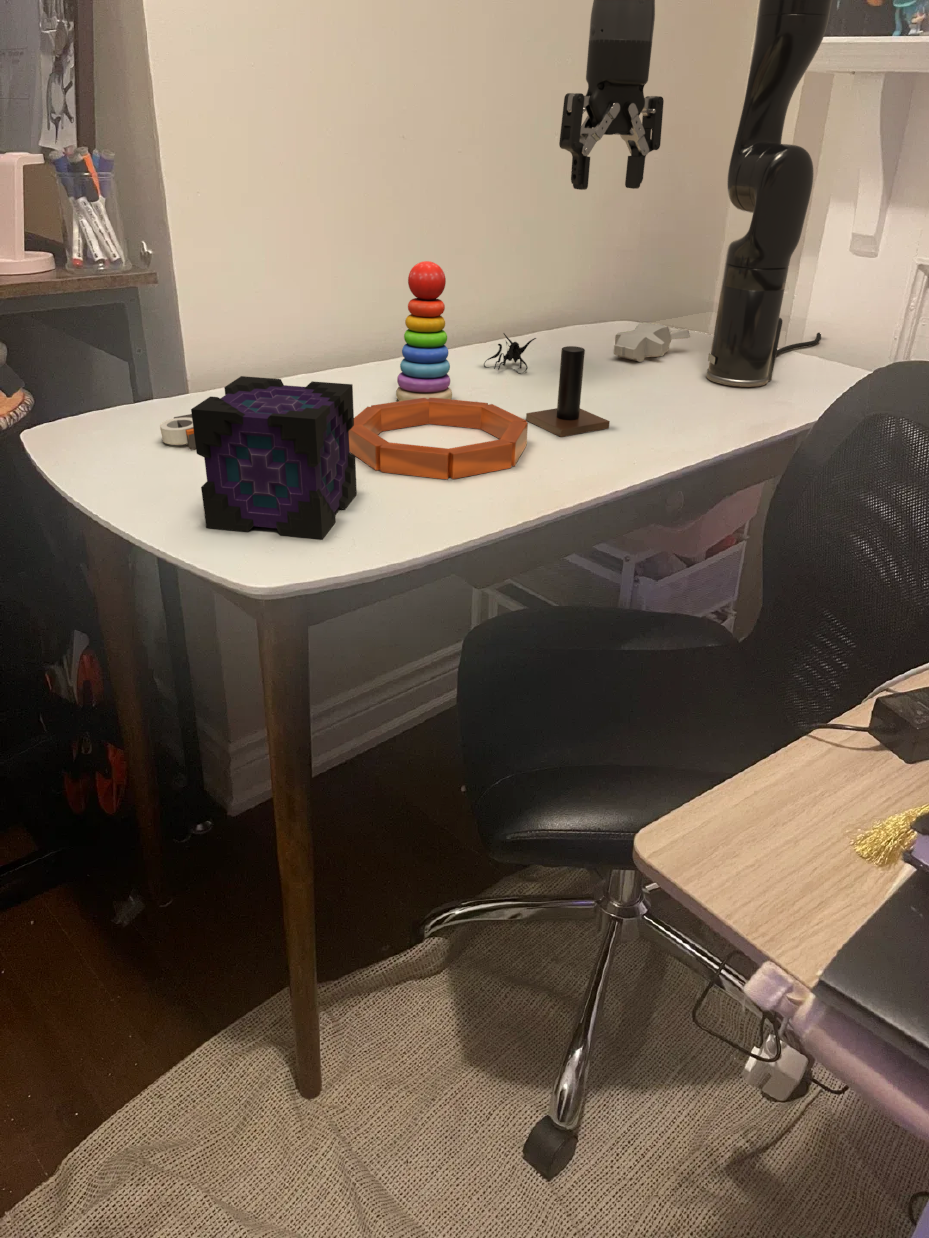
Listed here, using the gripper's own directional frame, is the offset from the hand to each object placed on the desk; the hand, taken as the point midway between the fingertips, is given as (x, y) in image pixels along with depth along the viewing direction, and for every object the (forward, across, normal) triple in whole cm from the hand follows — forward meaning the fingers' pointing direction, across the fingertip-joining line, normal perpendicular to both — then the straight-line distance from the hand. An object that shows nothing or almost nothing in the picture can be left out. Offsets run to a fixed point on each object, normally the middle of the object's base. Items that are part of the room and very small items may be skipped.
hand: (606, 188), depth 115 cm
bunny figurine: (+28, +28, +19) cm, 44 cm away
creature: (+28, +1, +22) cm, 36 cm away
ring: (+28, -28, -6) cm, 40 cm away
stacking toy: (+28, -20, +12) cm, 37 cm away
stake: (+28, -8, -6) cm, 30 cm away
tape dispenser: (+28, -50, +10) cm, 58 cm away
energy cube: (+28, -52, -16) cm, 61 cm away
